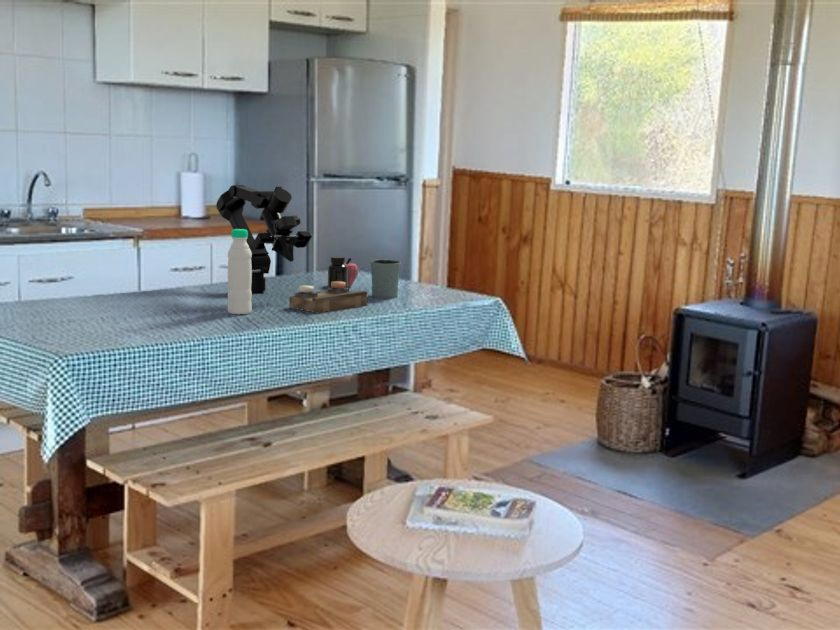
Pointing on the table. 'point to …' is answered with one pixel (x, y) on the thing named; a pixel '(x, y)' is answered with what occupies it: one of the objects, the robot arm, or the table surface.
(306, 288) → the button cream
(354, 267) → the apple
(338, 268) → the supplement bottle
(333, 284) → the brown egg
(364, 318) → the table surface
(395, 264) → the grey green plant pot
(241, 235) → the water bottle
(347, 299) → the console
